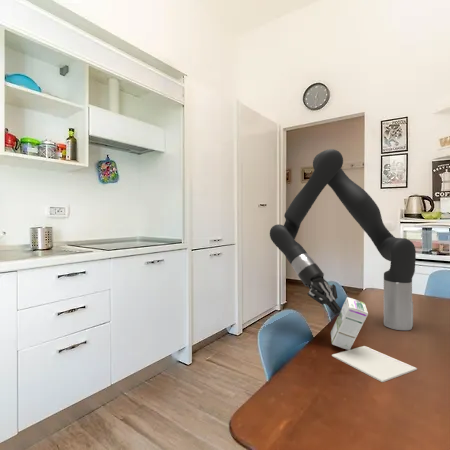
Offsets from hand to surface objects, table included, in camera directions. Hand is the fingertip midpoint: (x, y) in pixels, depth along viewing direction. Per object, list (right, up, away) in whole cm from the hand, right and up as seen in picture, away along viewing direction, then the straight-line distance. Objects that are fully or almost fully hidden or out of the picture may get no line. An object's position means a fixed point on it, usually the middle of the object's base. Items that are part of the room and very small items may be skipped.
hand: (338, 313), depth 93 cm
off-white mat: (+5, -11, -10) cm, 16 cm away
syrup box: (0, -9, 0) cm, 9 cm away
